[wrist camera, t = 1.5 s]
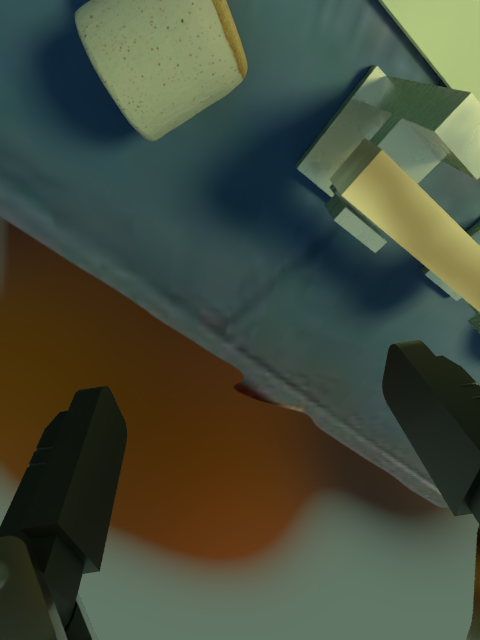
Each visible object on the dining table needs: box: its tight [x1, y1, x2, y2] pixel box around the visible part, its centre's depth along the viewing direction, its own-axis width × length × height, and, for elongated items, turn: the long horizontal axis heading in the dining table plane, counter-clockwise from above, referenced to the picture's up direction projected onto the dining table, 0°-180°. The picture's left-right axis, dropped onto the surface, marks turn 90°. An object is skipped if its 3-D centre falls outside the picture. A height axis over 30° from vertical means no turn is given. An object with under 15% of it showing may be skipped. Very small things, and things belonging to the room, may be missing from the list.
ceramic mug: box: [75, 0, 248, 141], centre depth 20 cm, size 11×8×8 cm
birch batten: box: [329, 138, 480, 312], centre depth 25 cm, size 3×24×3 cm, turn 54°
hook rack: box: [295, 65, 480, 334], centre depth 27 cm, size 8×24×12 cm, turn 54°
